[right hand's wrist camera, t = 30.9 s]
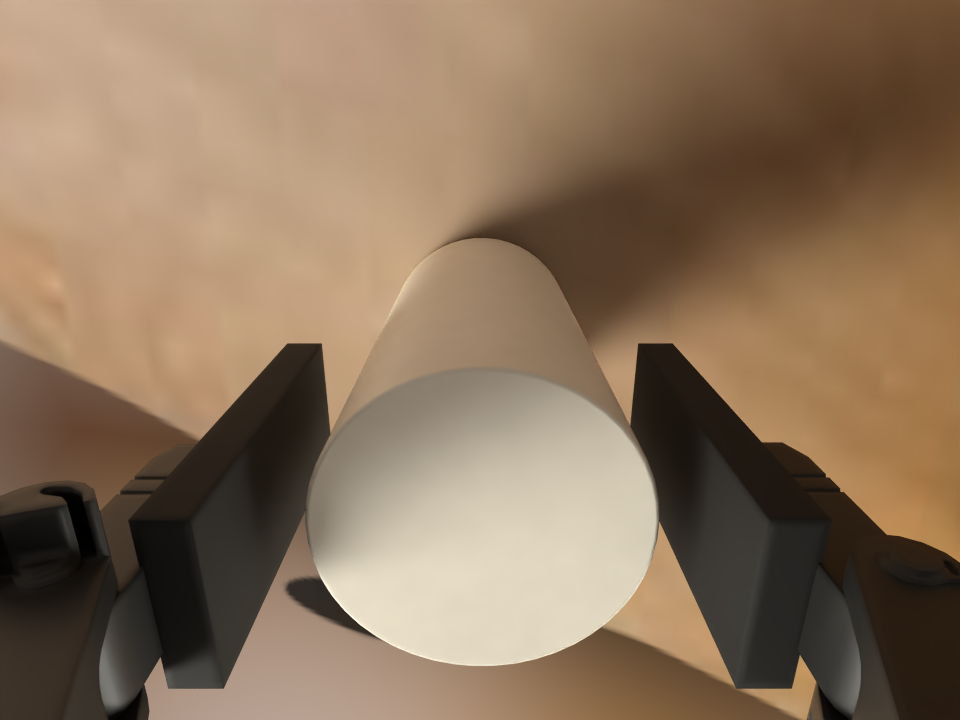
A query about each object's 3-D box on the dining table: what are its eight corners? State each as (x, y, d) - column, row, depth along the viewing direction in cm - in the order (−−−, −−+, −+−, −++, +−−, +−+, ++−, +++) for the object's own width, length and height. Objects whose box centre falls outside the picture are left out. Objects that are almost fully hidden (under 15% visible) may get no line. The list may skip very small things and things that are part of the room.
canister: (418, 413, 21) (359, 690, 10) (376, 257, 19) (254, 408, 9) (578, 383, 20) (677, 639, 10) (550, 220, 18) (639, 333, 8)
